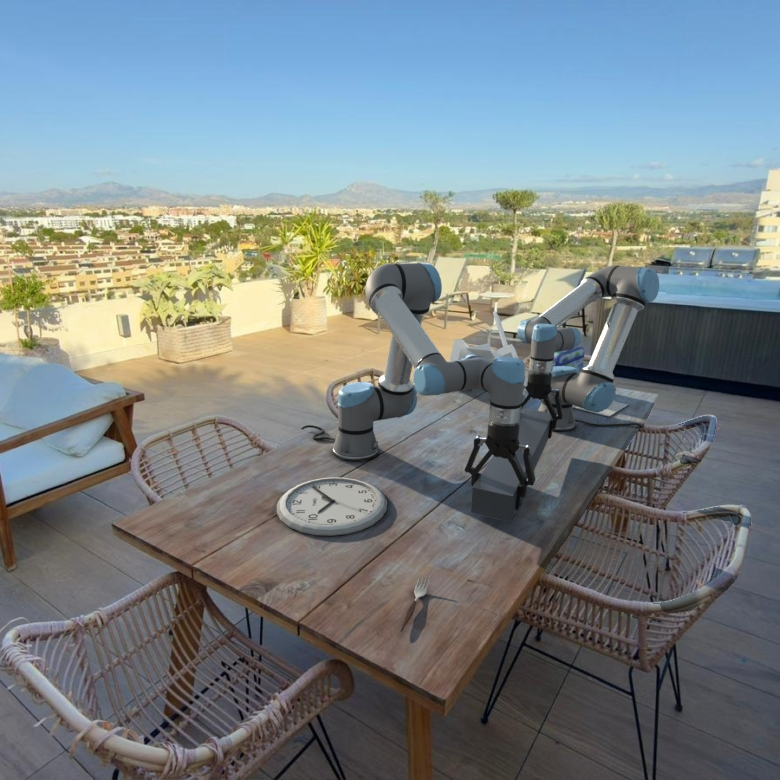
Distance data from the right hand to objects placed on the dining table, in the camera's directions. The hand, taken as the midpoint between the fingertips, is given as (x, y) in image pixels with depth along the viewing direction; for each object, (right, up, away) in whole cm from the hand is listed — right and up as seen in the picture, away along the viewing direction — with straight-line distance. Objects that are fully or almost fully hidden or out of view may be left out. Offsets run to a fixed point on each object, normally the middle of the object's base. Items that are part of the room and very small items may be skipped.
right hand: (533, 434), depth 178 cm
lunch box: (+32, +15, +71) cm, 80 cm away
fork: (-44, -29, -73) cm, 90 cm away
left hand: (-22, -14, -45) cm, 52 cm away
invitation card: (+42, +8, +48) cm, 65 cm away
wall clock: (-65, -16, -35) cm, 76 cm away
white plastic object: (-7, +14, +65) cm, 67 cm away
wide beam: (-11, -8, -22) cm, 26 cm away
